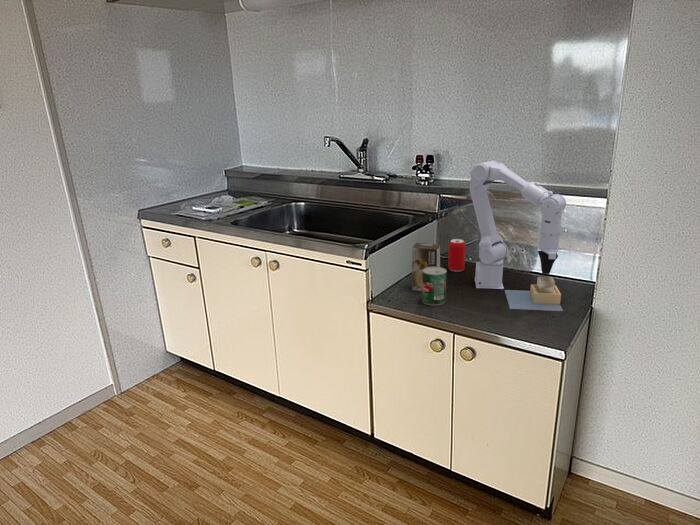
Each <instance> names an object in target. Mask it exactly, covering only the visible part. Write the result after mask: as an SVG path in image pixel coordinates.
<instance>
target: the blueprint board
mask: <svg viewBox="0 0 700 525" xmlns="http://www.w3.org/2000/svg"><path fill="white" fill-rule="evenodd" d="M504 293H505V296H506V301H507V303H508V307H509V309H510V310H530V311H533V310H534V311H547V312H548V311H552V312H555V311H556V312H564V309H563V308H562V306H561V299H562V293H561V291H560V290H559V288H558V287H557V285H556V284H555V286H554V294H553V293H538V292H537V284H530V290H516V289H513V290H512V289H504Z"/></svg>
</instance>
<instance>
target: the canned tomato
mask: <svg viewBox="0 0 700 525" xmlns="http://www.w3.org/2000/svg"><path fill="white" fill-rule="evenodd" d="M422 271H423V275H422V276H423V277H422V291H421V302H422V303H423V304H424V305H428V306H433V307H434V306H441V305H444V304H445V303H446V302H447V301H446V298H447V272H448V271H447V269H446V268H444V267H442V266H440V267H426V268H424V269H423V270H422Z"/></svg>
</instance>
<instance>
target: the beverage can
mask: <svg viewBox="0 0 700 525" xmlns="http://www.w3.org/2000/svg"><path fill="white" fill-rule="evenodd" d="M465 261H466V243H465V240H464V239H460V238H454V239H453V238H452V239H450V241H449V244H448V264H447V268H448V270H449V271H451V272H453V271H454V273H460V272H462V271H464V270H465Z"/></svg>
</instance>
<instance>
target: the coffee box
mask: <svg viewBox="0 0 700 525" xmlns="http://www.w3.org/2000/svg"><path fill="white" fill-rule="evenodd" d="M426 267H441V244H437V243H436V244H435V243H425V242H423V243H422V242H415V244H413V247H412V248H411V286H412V287H411V290H412V291H418V292H422V277H423V276H422V275H423V271H422V270H423V269H424V268H426Z"/></svg>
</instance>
